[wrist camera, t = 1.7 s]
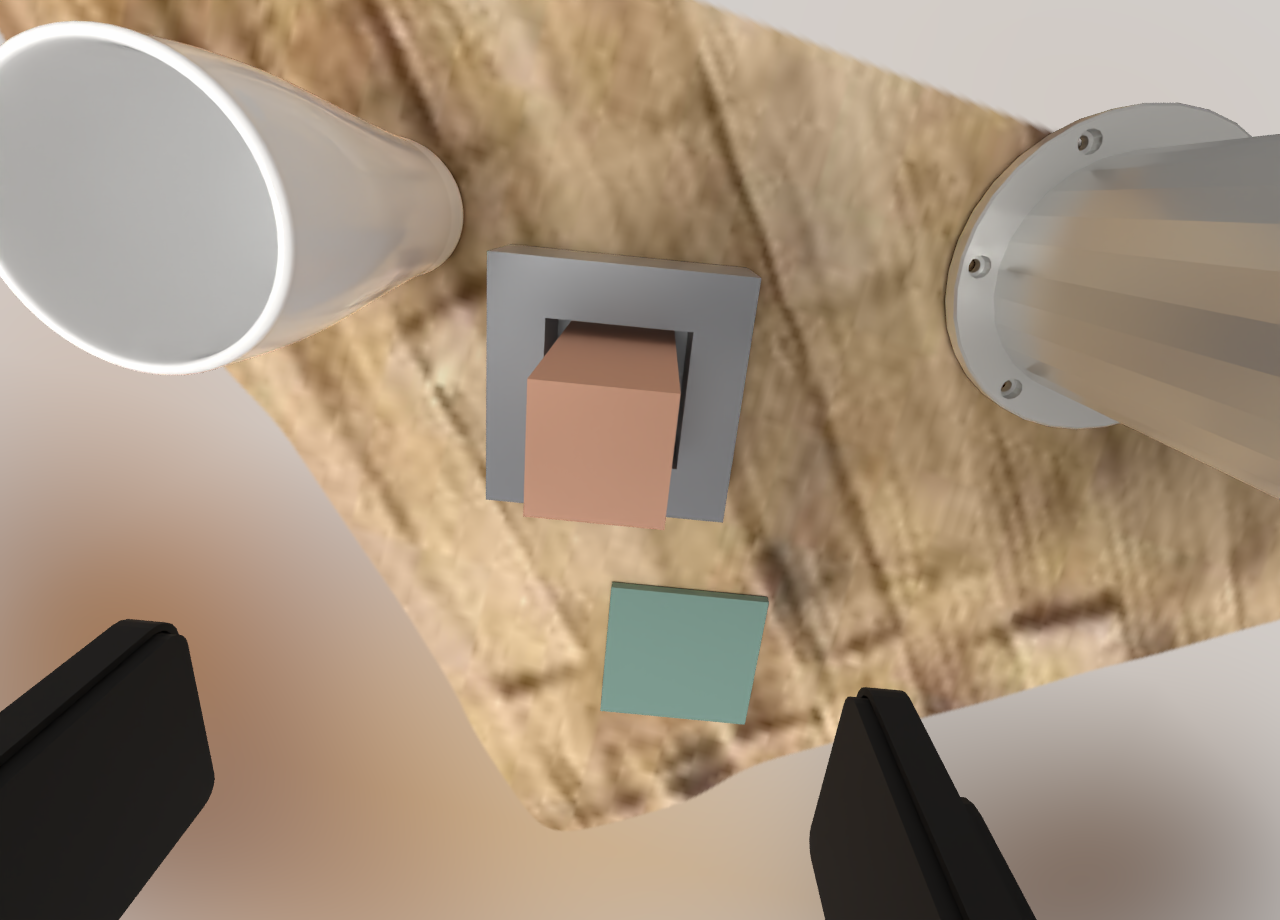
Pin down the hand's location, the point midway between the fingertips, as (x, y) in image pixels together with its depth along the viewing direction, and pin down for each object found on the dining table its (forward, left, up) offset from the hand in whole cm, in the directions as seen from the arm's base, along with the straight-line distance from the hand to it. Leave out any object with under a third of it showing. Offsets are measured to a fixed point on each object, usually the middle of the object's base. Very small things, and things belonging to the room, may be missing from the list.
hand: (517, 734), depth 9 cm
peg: (0, 0, -21) cm, 21 cm away
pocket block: (0, 0, -21) cm, 21 cm away
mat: (-5, +15, -21) cm, 26 cm away
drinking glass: (+9, -6, -22) cm, 24 cm away
